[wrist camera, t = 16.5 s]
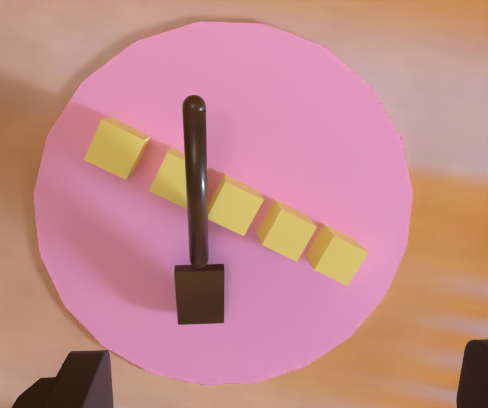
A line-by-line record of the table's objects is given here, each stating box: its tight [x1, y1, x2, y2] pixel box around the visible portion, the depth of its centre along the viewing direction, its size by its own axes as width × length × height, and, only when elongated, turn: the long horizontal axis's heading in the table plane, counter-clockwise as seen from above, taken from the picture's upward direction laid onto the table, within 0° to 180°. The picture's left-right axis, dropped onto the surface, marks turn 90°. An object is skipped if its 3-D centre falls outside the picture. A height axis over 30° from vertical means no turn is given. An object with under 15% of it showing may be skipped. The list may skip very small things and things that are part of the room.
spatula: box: [174, 95, 225, 325], centre depth 31 cm, size 18×4×11 cm
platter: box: [33, 21, 413, 385], centre depth 34 cm, size 32×32×3 cm
